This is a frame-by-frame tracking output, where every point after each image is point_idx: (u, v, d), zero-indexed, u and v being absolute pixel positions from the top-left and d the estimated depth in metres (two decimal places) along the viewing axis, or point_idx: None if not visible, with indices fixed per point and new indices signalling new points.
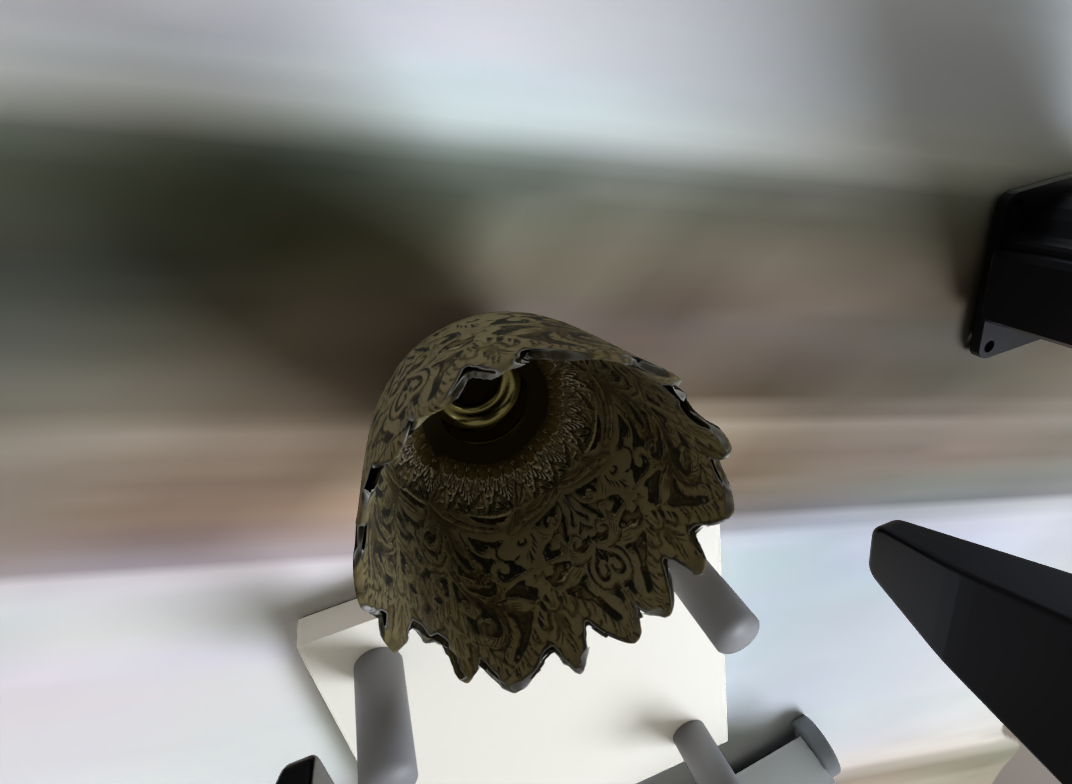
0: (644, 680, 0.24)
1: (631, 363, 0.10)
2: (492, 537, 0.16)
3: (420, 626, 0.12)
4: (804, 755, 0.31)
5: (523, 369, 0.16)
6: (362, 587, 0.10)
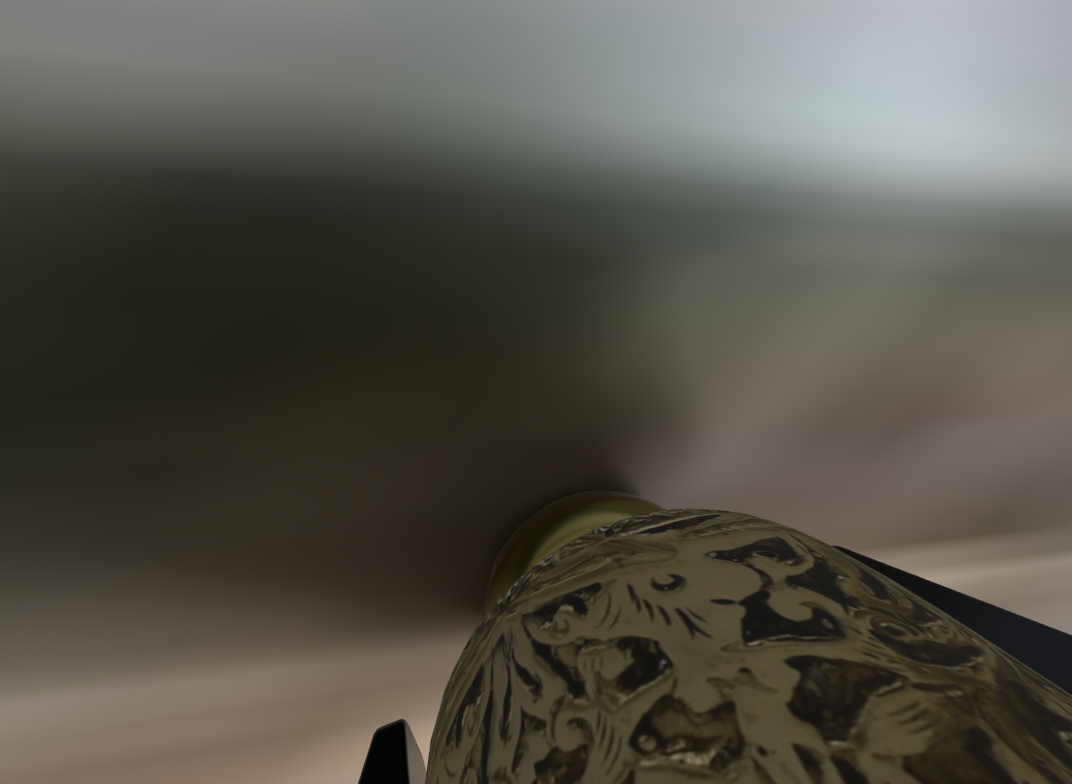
0: None
1: None
2: None
3: None
4: None
5: None
6: None
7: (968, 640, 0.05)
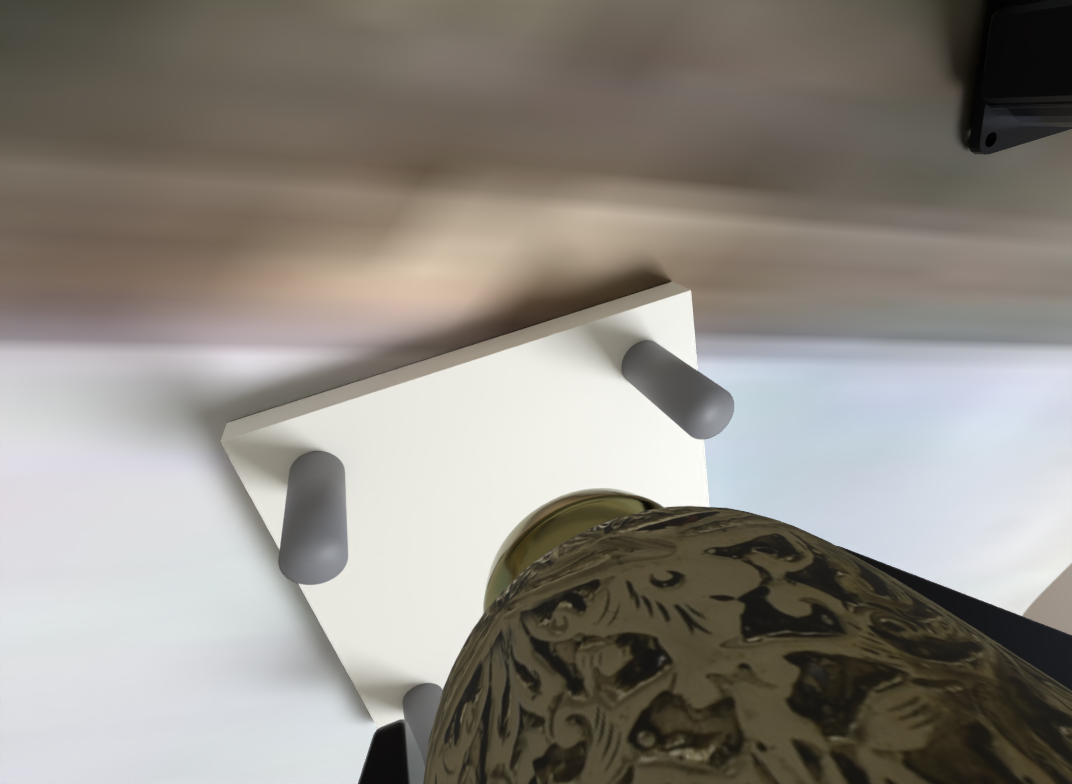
0: None
1: None
2: None
3: None
4: None
5: None
6: None
7: (968, 636, 0.05)
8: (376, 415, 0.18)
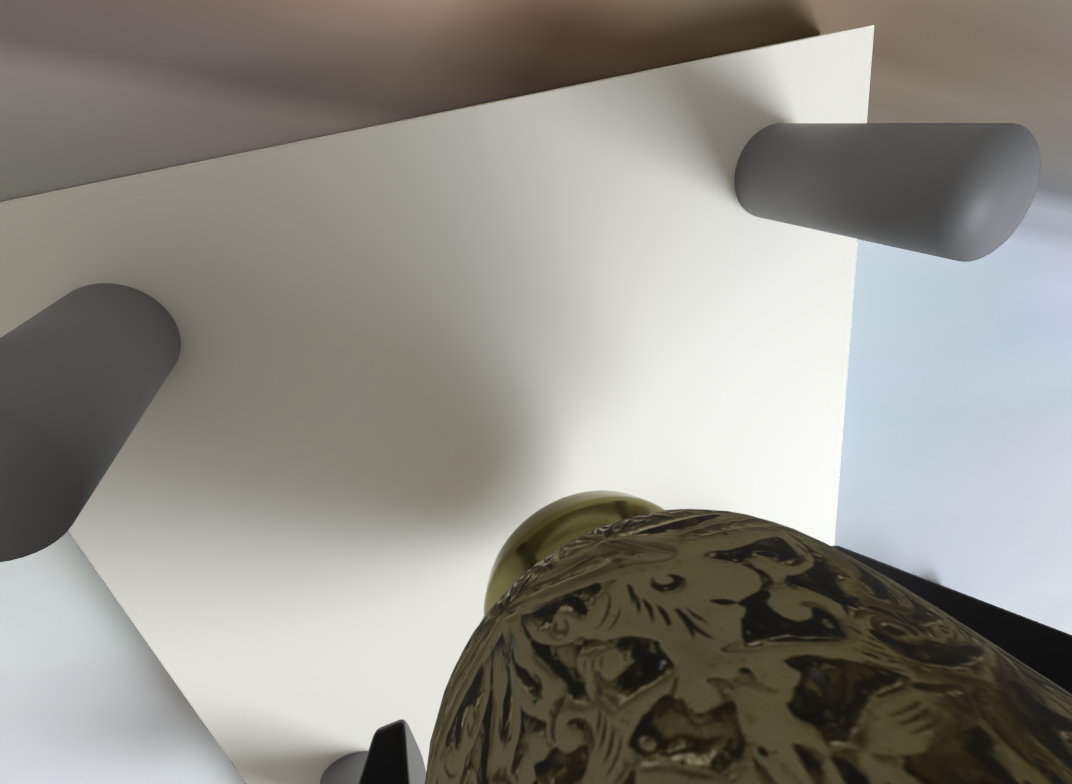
0: (702, 481, 0.13)
1: None
2: None
3: None
4: None
5: None
6: None
7: (968, 640, 0.05)
8: (243, 213, 0.08)
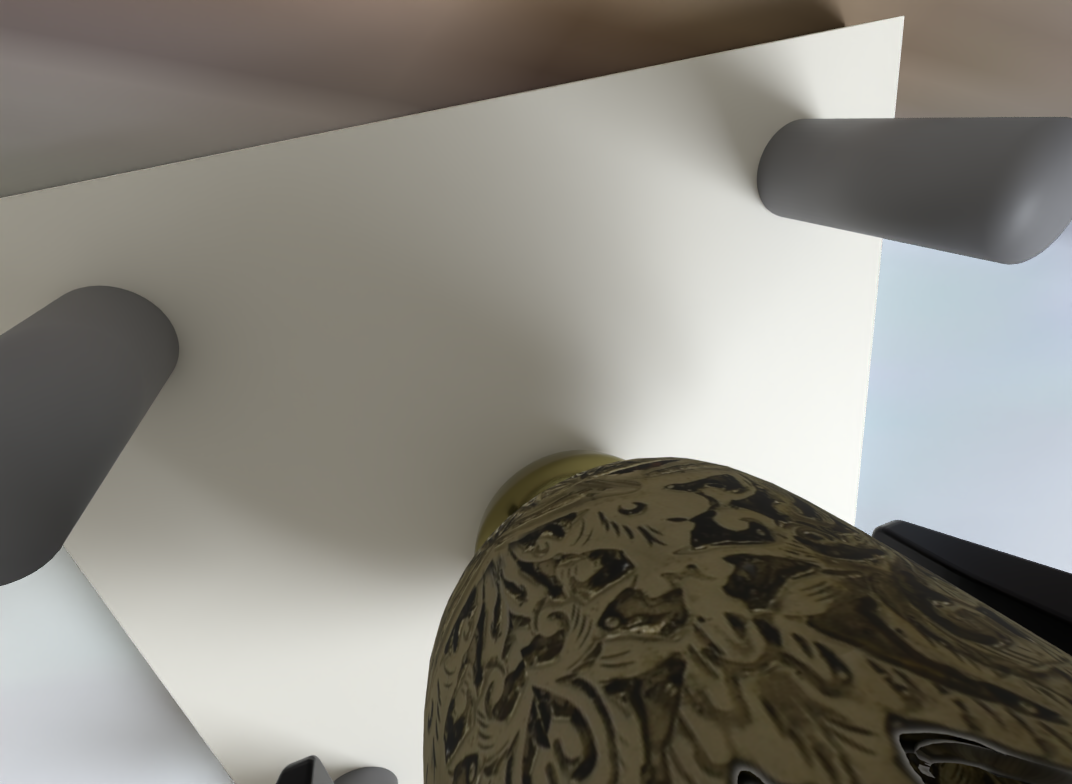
0: None
1: None
2: None
3: None
4: None
5: None
6: None
7: (876, 546, 0.06)
8: (245, 212, 0.08)
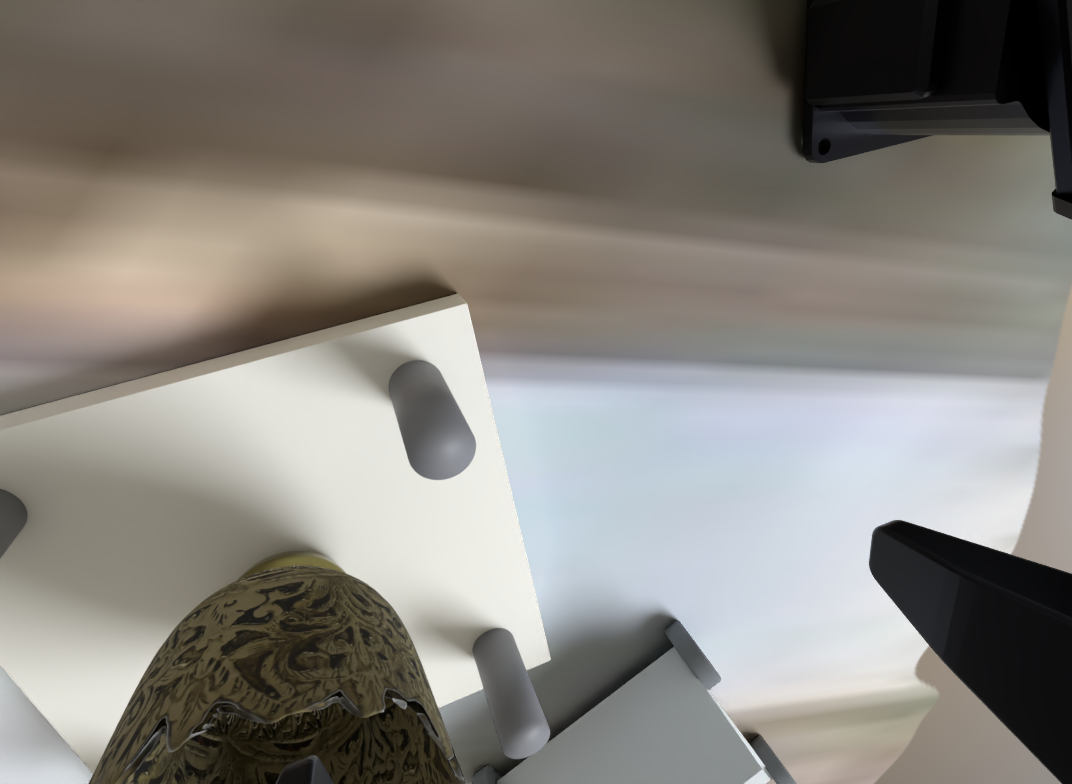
0: (414, 568, 0.20)
1: (329, 702, 0.11)
2: None
3: None
4: (677, 666, 0.26)
5: None
6: None
7: (329, 623, 0.13)
8: (60, 444, 0.15)
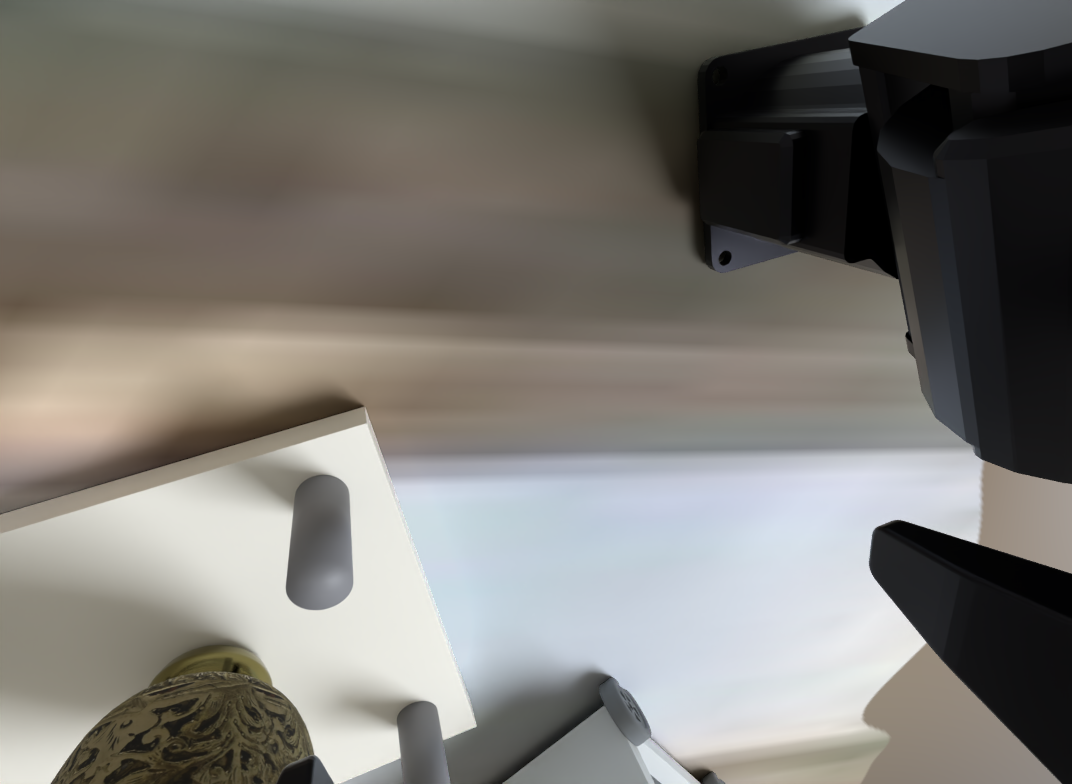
0: (332, 653, 0.21)
1: None
2: None
3: None
4: (608, 723, 0.27)
5: None
6: None
7: (210, 748, 0.14)
8: None
